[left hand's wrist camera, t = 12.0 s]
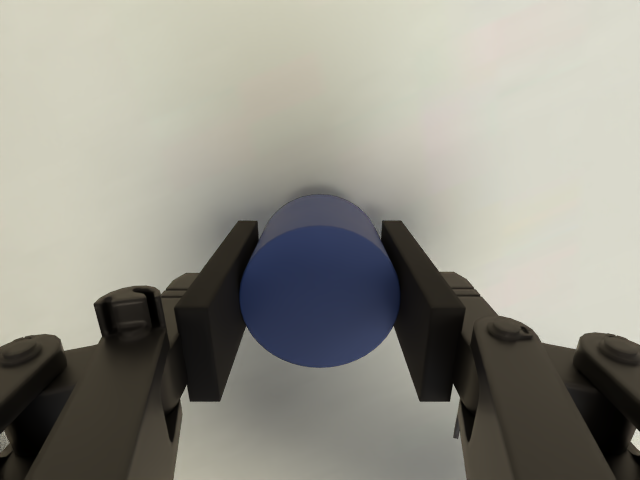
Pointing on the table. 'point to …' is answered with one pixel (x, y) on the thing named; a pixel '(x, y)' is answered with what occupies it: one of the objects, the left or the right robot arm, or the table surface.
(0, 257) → the table surface
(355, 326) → the can
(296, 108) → the table surface
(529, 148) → the table surface
